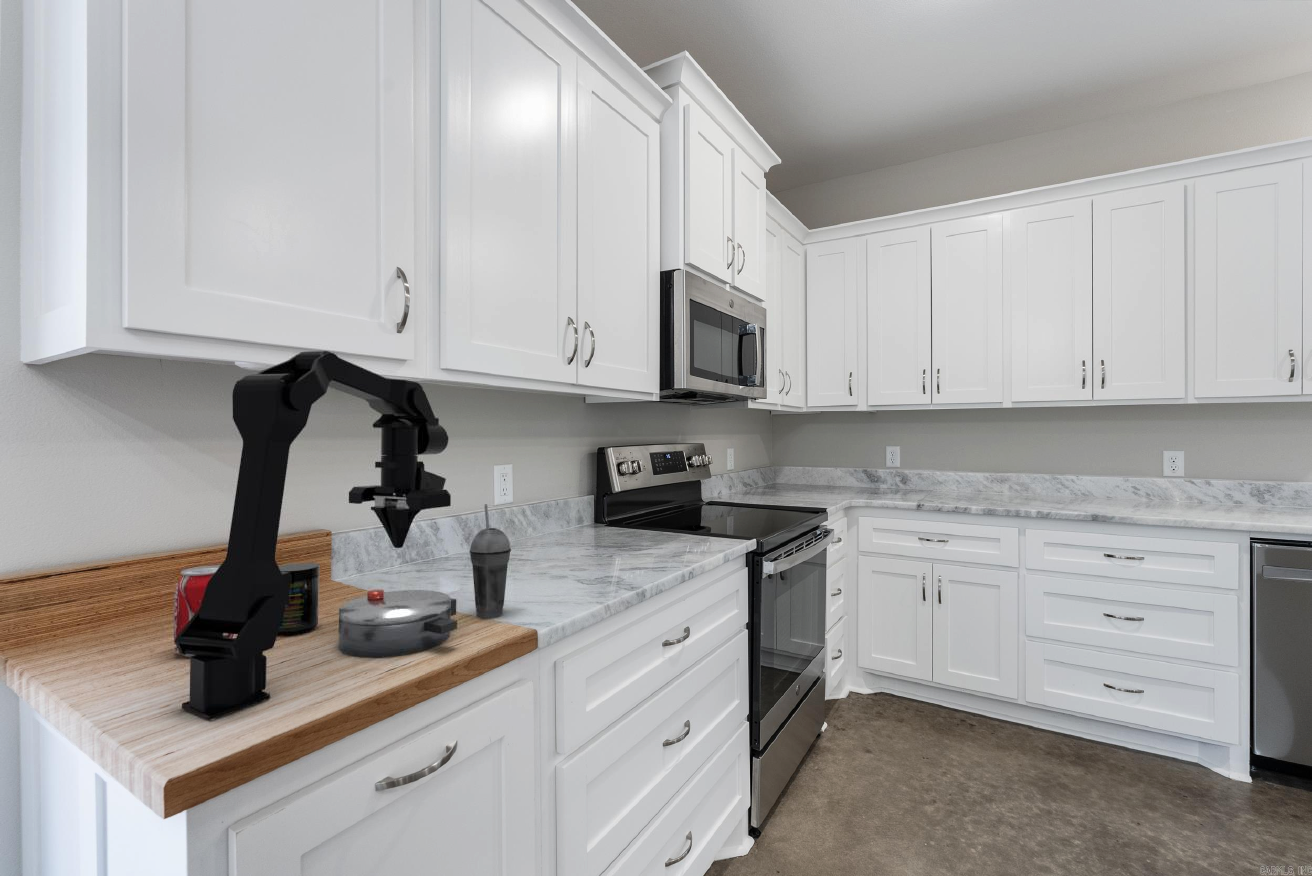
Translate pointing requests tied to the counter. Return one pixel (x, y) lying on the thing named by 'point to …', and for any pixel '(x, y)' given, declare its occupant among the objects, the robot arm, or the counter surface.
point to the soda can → (191, 597)
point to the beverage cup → (489, 570)
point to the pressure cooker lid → (394, 607)
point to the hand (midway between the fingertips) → (398, 547)
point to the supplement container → (301, 599)
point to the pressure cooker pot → (396, 636)
